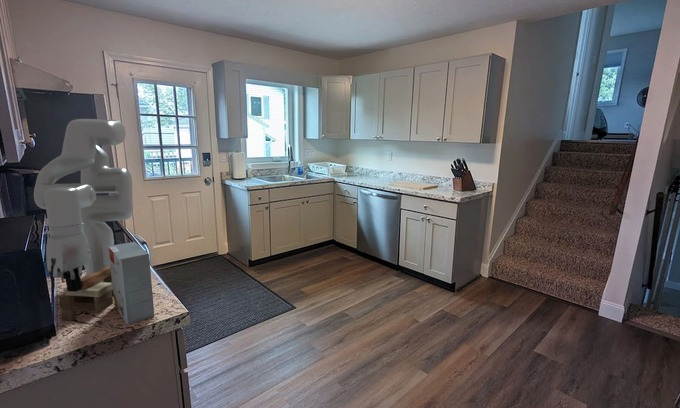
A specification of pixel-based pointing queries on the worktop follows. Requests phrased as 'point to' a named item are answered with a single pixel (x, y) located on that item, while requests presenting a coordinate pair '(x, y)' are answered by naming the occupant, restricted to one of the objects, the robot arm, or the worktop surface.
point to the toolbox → (84, 303)
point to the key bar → (95, 277)
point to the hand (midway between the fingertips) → (74, 290)
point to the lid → (92, 290)
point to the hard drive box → (131, 281)
